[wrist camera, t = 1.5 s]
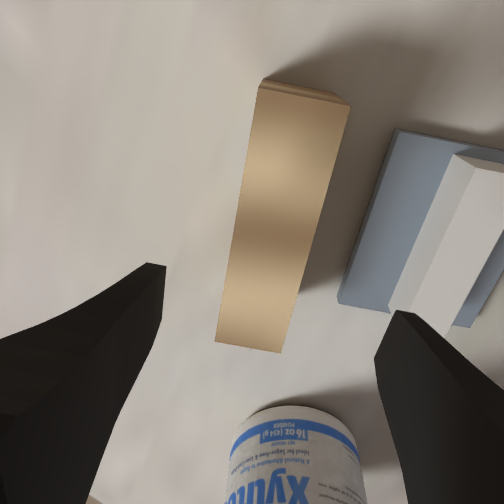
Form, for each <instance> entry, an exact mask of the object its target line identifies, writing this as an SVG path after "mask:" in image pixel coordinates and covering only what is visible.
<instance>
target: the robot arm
mask: <svg viewBox="0 0 504 504" xmlns="http://www.w3.org/2000/svg"><path fill="white" fill-rule="evenodd" d="M165 277H166V266H163V265H158V264H152V263H145V264H144V265H142V266H140V267H139V268H137V269H136V270H134V271H133V272H131V273H130V274H129V275H127V276H126V277H124V278H123V279H121V280H120V281H118V282H117V283H115V284H114V285H112V286H110V287H109V288H107V289H106V290H104V291H103V292H101V293H99V294H98V295H96V296H94V297H93V298H91V299H89V300H87V301H85V302H84V303H82V304H80V305H78V306H77V307H75V308H73V309H71V310H69V311H67V312H65V313H63V314H61V315H59V316H57V317H54V318H52V319H50V320H48V321H45V322H43V323H41V324H39V325H36V326H34V327H31V328H28V329H26V330H23V331H20V332H18V333H15V334H12V335H10V336H7V337H4V338H2V339H0V504H86V501H87V498H88V495H89V492H90V490H91V487H92V484H93V481H94V479H95V476H96V473H97V470H98V468H99V465H100V462H101V459H102V457H103V454H104V451H105V449H106V446H107V443H108V441H109V438H110V435H111V433H112V430H113V427H114V425H115V422H116V420H117V418H118V416H119V413H120V411H121V409H122V407H123V405H124V403H125V401H126V399H127V397H128V395H129V393H130V391H131V389H132V387H133V385H134V383H135V381H136V379H137V377H138V375H139V373H140V371H141V369H142V367H143V365H144V362H145V360H146V358H147V356H148V354H149V352H150V350H151V348H152V346H153V343H154V340H155V337H156V334H157V331H158V328H159V326H160V323H161V320H162V310H163V299H164V288H165ZM374 362H375V370H376V377H377V384H378V389H379V393H380V396H381V400H382V403H383V407H384V410H385V414H386V417H387V420H388V424H389V427H390V430H391V434H392V437H393V440H394V444H395V447H396V450H397V454H398V457H399V461H400V465H401V469H402V473H403V478H404V483H405V489H406V494H407V499H408V504H504V390H503V389H501V388H500V387H499V386H498V385H497V384H495V383H494V382H493V381H492V380H491V379H489V378H488V377H487V376H486V375H485V374H483V373H482V372H481V371H480V370H479V369H477V368H476V367H475V366H474V365H473V364H472V363H471V362H469V361H468V360H467V359H466V358H465V357H464V356H463V355H462V354H461V353H459V352H458V351H457V350H456V349H455V348H454V347H453V346H452V345H451V344H450V343H449V342H447V341H446V340H445V339H444V338H443V337H442V336H441V335H440V334H439V333H438V332H437V331H436V330H434V329H433V328H432V327H431V326H430V325H429V324H428V323H427V322H425V321H424V320H423V319H422V318H421V317H419V316H418V315H417V314H415V313H412V312H406V311H401V310H395V313H394V315H393V317H392V319H391V321H390V324H389V326H388V328H387V330H386V333H385V335H384V337H383V339H382V341H381V344H380V346H379V348H378V350H377V353H376V355H375V357H374Z"/></svg>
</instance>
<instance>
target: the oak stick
mask: <svg viewBox="0 0 504 504" xmlns="http://www.w3.org/2000/svg"><path fill="white" fill-rule="evenodd" d="M350 108H351V106H350V105H349V104H347V103H346V102H345V101H344V100H342V99H341V98H340V97H339V96H337V95H336V94H335V93H332V92H327V91H322V90H317V89H312V88H307V87H302V86H297V85H292V84H287V83H282V82H277V81H272V80H267V79H263V80H262V82H261V84H260V85H259V87H258V92H257V98H256V104H255V110H254V116H253V121H252V127H251V133H250V139H249V145H248V150H247V156H246V162H245V168H244V174H243V180H242V185H241V191H240V197H239V203H238V209H237V214H236V220H235V226H234V232H233V238H232V243H231V249H230V255H229V261H228V267H227V272H226V278H225V284H224V290H223V296H222V301H221V307H220V313H219V319H218V325H217V331H216V336H215V342H220V343H225V344H231V345H237V346H242V347H248V348H253V349H259V350H264V351H270V352H275V353H281V351H282V347H283V344H284V340H285V337H286V333H287V330H288V326H289V323H290V319H291V316H292V312H293V308H294V305H295V301H296V298H297V294H298V291H299V287H300V284H301V280H302V277H303V273H304V270H305V266H306V263H307V259H308V256H309V252H310V249H311V245H312V242H313V238H314V235H315V231H316V228H317V224H318V221H319V217H320V214H321V210H322V207H323V203H324V200H325V196H326V193H327V189H328V185H329V182H330V178H331V175H332V171H333V168H334V164H335V161H336V157H337V154H338V150H339V147H340V143H341V140H342V136H343V133H344V129H345V126H346V122H347V119H348V115H349V112H350Z"/></svg>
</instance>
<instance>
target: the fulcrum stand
mask: <svg viewBox="0 0 504 504" xmlns="http://www.w3.org/2000/svg"><path fill="white" fill-rule="evenodd" d="M503 270H504V150H499V149H494V148H489V147H484V146H479V145H474V144H469V143H464V142H459V141H454V140H449V139H444V138H439V137H434V136H429V135H424V134H419V133H414V132H410V131H405V130H400V129H395V130H394V133H393V136H392V139H391V142H390V145H389V148H388V150H387V153H386V156H385V159H384V162H383V165H382V168H381V171H380V173H379V176H378V179H377V182H376V185H375V188H374V191H373V193H372V196H371V199H370V202H369V205H368V208H367V211H366V214H365V216H364V219H363V222H362V225H361V228H360V231H359V234H358V237H357V239H356V242H355V245H354V248H353V251H352V254H351V257H350V260H349V262H348V265H347V268H346V271H345V274H344V277H343V280H342V283H341V285H340V288H339V291H338V294H337V299H338V303H339V304H343V305H349V306H354V307H359V308H365V309H370V310H375V311H381V312H386V313H391V314H392V317H393V315H394V313H395V310H401V311H406V312H412V313H415V314H417V315H418V316H419V317H421V318H422V319H423V320H424V321H425V322H427V323H428V324H429V325H430V326H431V327H432V328H433V329H434V330H436V331H437V332H438V333H439V334H440V335H441V336H442V337H443V338H445V336H446V334H447V332H448V330H449V328H450V327H451V325H456V326H461V327H466V328H470V327H471V325H472V324H473V322H474V320H475V318H476V317H477V315H478V313H479V311H480V310H481V308H482V306H483V304H484V303H485V301H486V299H487V298H488V296H489V294H490V292H491V291H492V289H493V287H494V285H495V284H496V282H497V280H498V278H499V277H500V275H501V273H502V272H503Z"/></svg>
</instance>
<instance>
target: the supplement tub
mask: <svg viewBox="0 0 504 504" xmlns="http://www.w3.org/2000/svg"><path fill="white" fill-rule="evenodd" d="M224 504H367V498H366V493H365V488H364V482H363V476H362V471H361V466H360V460H359V455H358V450H357V446H356V442H355V440H354V437H353V435H352V434H351V432H350V431H349V429H348V428H347V427H346V426H345V425H344V424H343V423H342V422H341V421H339V420H338V419H336V418H335V417H333V416H332V415H330V414H328V413H326V412H323V411H321V410H317V409H314V408H310V407H304V406H278V407H273V408H269V409H266V410H263V411H260V412H258V413H256V414H254V415H253V416H251V417H250V418H248V419H247V420H246V421H245V422H244V423H243V424H242V425H241V426H240V428H239V429H238V431H237V432H236V434H235V436H234V438H233V441H232V447H231V454H230V462H229V470H228V478H227V486H226V493H225V501H224Z"/></svg>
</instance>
